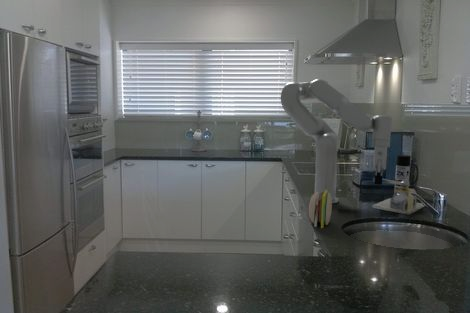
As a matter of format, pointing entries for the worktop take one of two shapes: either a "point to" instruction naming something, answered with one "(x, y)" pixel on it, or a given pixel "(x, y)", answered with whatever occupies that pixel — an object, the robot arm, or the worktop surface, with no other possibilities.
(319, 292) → the worktop surface
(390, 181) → the lever
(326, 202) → the hamburger
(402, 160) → the spray can
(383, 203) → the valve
